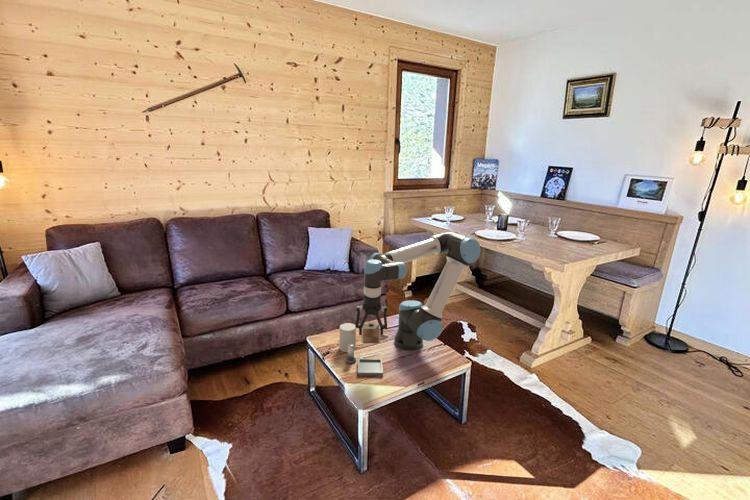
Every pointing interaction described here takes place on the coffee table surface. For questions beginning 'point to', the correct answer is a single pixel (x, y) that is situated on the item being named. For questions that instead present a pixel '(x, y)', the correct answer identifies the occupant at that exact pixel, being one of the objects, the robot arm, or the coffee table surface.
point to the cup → (347, 336)
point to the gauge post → (350, 354)
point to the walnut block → (371, 332)
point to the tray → (370, 367)
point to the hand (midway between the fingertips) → (370, 341)
